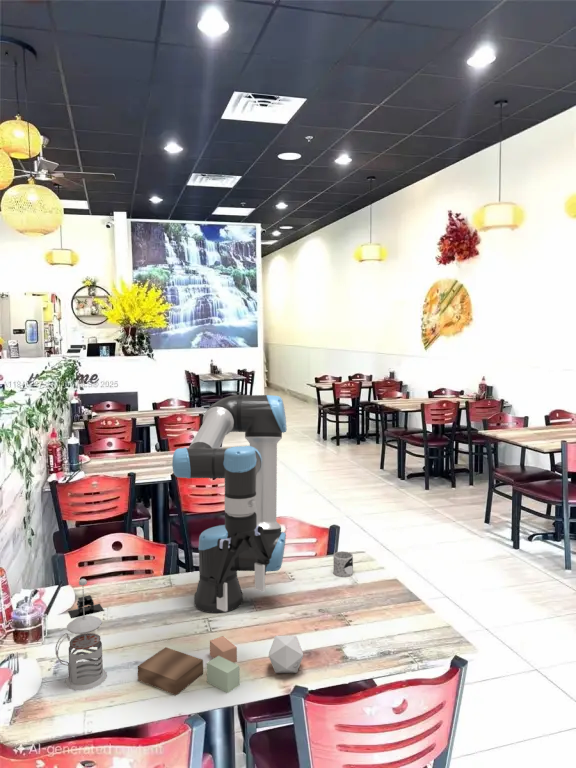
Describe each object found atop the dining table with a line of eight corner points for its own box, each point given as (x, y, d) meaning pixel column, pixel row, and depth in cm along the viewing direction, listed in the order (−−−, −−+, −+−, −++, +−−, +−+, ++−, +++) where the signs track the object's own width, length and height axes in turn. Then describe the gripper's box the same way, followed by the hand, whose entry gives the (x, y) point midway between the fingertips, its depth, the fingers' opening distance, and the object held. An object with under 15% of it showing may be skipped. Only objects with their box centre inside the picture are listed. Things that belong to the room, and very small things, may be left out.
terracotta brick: (209, 655, 156) (209, 640, 155) (223, 650, 158) (223, 635, 158) (223, 667, 150) (223, 652, 150) (236, 662, 152) (236, 647, 152)
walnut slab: (138, 681, 144) (137, 666, 144) (166, 662, 153) (165, 647, 153) (176, 696, 138) (175, 680, 138) (203, 675, 147) (202, 659, 147)
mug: (347, 578, 203) (347, 559, 202) (330, 574, 206) (330, 556, 206) (359, 568, 212) (359, 550, 211) (342, 565, 215) (342, 547, 214)
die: (291, 687, 142) (312, 647, 145) (259, 665, 144) (280, 627, 146) (290, 679, 151) (310, 642, 153) (260, 659, 152) (280, 623, 154)
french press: (112, 681, 144) (109, 581, 142) (62, 698, 138) (58, 593, 135) (101, 663, 152) (97, 568, 150) (53, 677, 146) (49, 578, 144)
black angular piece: (66, 622, 175) (65, 607, 174) (61, 612, 181) (61, 598, 180) (109, 612, 181) (108, 597, 180) (103, 603, 187) (103, 588, 187)
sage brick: (207, 682, 143) (206, 662, 143) (218, 675, 147) (218, 655, 146) (227, 693, 139) (227, 673, 139) (239, 685, 142) (239, 665, 142)
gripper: (215, 529, 129) (216, 623, 131) (285, 503, 149) (285, 585, 151) (191, 522, 134) (192, 614, 136) (262, 498, 154) (262, 578, 155)
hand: (241, 599), depth 143 cm, fingers open, 13 cm apart
